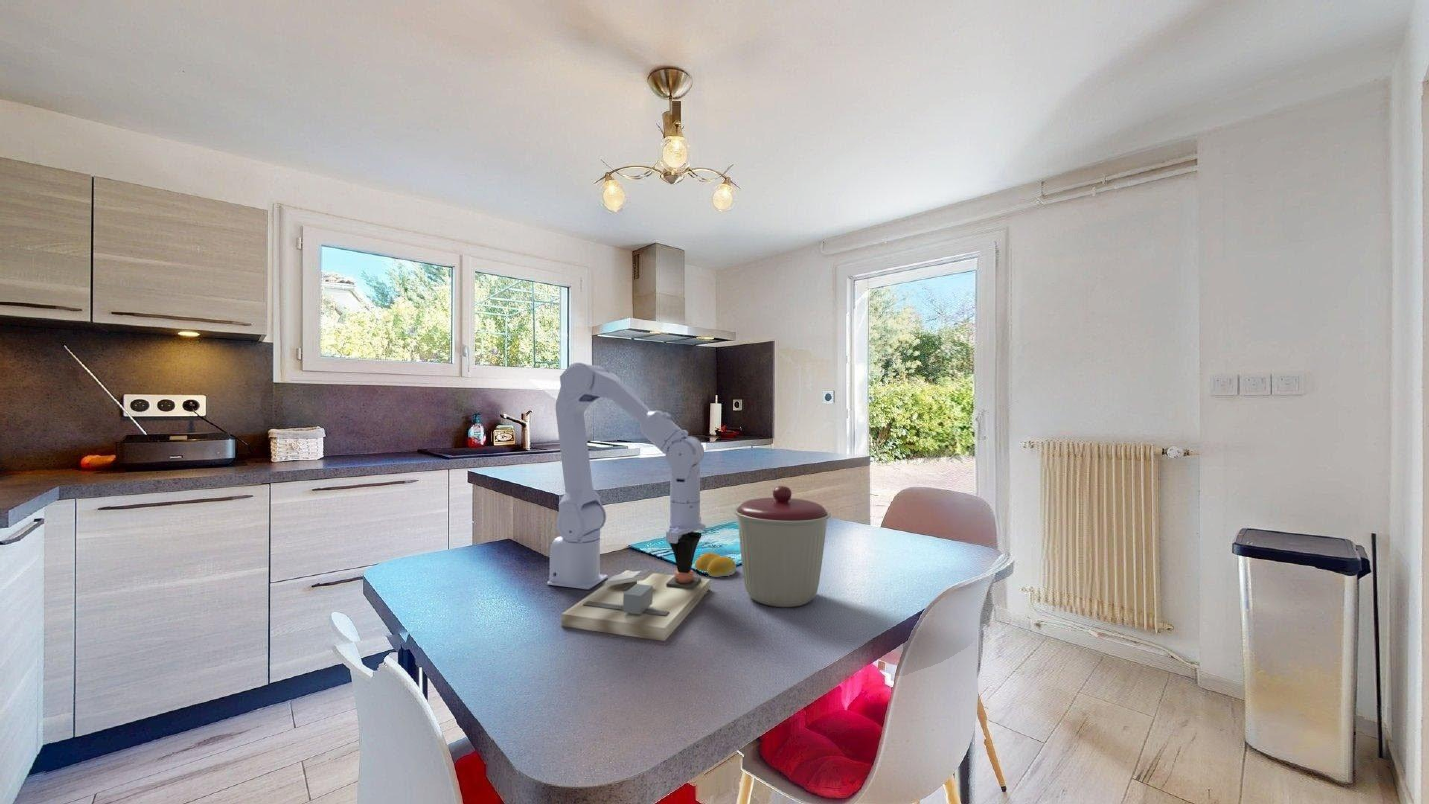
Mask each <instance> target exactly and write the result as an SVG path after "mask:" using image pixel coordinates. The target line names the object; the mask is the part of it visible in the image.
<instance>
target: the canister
mask: <svg viewBox="0 0 1429 804" xmlns="http://www.w3.org/2000/svg"><path fill="white" fill-rule="evenodd" d="M772 496H773V497H762V498H760V497H759V498H754V499H749V500H747V501H744V502H742V503H741V504H740V505H738V506H736V507H735V508H734V509H733V512H734V514H735V516H737V523H738V524H737V526H738V535H739V548H740V558H741V567H742V574H743V575H742V576H743V583H744V587H745V590H746V592H747V594H748V595H749V597H750V598H751V599H753V600H754V601H756V602H758V603H760V604H762V605H766V606H771V607H776V608H794V607H799V606H803V605H805V604H808V603H810V602H811V601H812V600H813V599H814V598H815V597H816V595H817V591H818V589H819V585H820V579H821V571H822V566H823V565H822V564H823V557H824V550H825V542H826V540H825V539H826V535H827V523H828V520H829V519H830V517H831V516H832V513H831V512H830V510H829V509H827V508H825V507H823V505H821V504H820V503H817V502H814V501H811V500H807V499H800V498H794V497H793V498H791V497H792V496H793V495H792V490H791V489H790V488H789V486H784V485H780V486H779V485H778V486H776V487H774V489H773V491H772Z"/></svg>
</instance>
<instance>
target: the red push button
mask: <svg viewBox="0 0 1429 804" xmlns="http://www.w3.org/2000/svg"><path fill="white" fill-rule="evenodd" d="M674 575H675V581H676V582H679V583H689V582H692V581H693V577H694V570H693V569H691V571H690V572H689V573H682V572H678V570H677V569H675V570H674Z"/></svg>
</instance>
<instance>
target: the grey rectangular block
mask: <svg viewBox="0 0 1429 804" xmlns="http://www.w3.org/2000/svg"><path fill="white" fill-rule="evenodd" d="M652 597H653V586H650V585H642V584H636V585H634V586H633V587H632V588H630V589H629V590H628V591H626V592H625V593H624V594H623V612H625V613H632V614H641V613H643V612H644V611H645V610H646V609H647V608H648V607H649V606H650V605H651V604H652Z"/></svg>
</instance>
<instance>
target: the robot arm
mask: <svg viewBox="0 0 1429 804" xmlns="http://www.w3.org/2000/svg"><path fill="white" fill-rule="evenodd" d="M559 381H560V388H559V392H558V395H557V398H556V401H555V415H556V425H557V432H558V434H557V435H558V440H559V449H560V451H559V452H560V458H561V466H562V474H563V483H564V491H565V492H564V494H563V496H562V498H561V499H560V501H559V503H558V516H557V519H556V530H557V532H558V534H559V536H557V537H556V538H554V539H553V541H552V543H551V546H550V551H549V576H548V578H549V580H548V581H547V583H546V584H547V585H549V586H550V585H551V586H557V587H563V588H564V587H566V588H572V589H580V590H590V589H592V588H594V587H595V586H597V585H598V584H599V583H601V582H603V581H604V580H607V579H608V574H604V573H603V574H601V573H600V572H601V571H600V568H601V567H600V566H601V564H600V563H601V561H600V560H601V559H600V558H601V549H600V548H601V529H602V528H603V527H604V526H605V523H606V522H607V512H606V509H605V508H604V506H603V505H602V502H601V496H600V494H599V493H598V492H597V490H595V489H594V487H593V486H594V485H593V479H592V472H591V463H590V462H591V461H590V455H589V454H590V453H589V446H588V437H587V436H588V435H587V430H586V429H587V428H586V422H585V421H586V420H585V412H586V411H587V409H588V408H589V407H590V406H591V404H592V403H593V402H595V401H596V400H598V399H600V398H606V399H609V400H611V401H613V403H615V404H616V405H617V406H618V407H620V409H622V410H623V411H625V412H626V413H627V414H628V415H629V416H631V417H632V419H634V420H635V421H637V422H638V423H639V432H640V433H641V434H642V435H643V436H644V437H645V438H646V439H647V440H648V441H650V442H651V443H652V444H653V446H655V447H656V448H657V449H658V450H659V451H661V453H662V454H665V460H666V462H667V464H668V465H669V467H670V481H669V482H670V484H669V485H670V487H669V489H670V490H669V497H670V498H669V523H668V530H667V531H666V532H665V535H666V536H665V542H666V543H667V544H669V546H670V548H671V550H672V552H673V555H674V560H675V565H676V570H678V572H682V573H689V572H690V571H691V570H692V568H693V567H692V566H693V563H694V558H695V554H696V551H697V547H698V545H699V542H700V540H701V538H702V533H701V532H698V531H699V530H700V531H701V530H702V531H703V530H705V529H706V524H705V523H702V516H701V513H700V512H701V503H700V502H701V462H702V460H704V456H705V448H704V446H703V443H702V442H701V441H700V440H699V438H698V437H696V436H689V432H688V431H687V429H682V428H680V427H679V425H677V424H676V423H675V422H674V421H673V420H672V419H671V418H672V415H670V413H668V412H667V411H666V412H663V411H661V410H653V411H652V410H651V409H650V408H649V407H648V406H647V405H646V403H644V402H643V401H642V400H641V399H640V398H639V397H638V396H637V395H636V394H635V393H634V392H633V391H632V390H631V389H630V387H628V386H627V385H626V384H625V383H624V382H623V381H622V380H621V379H620V378H619V376H618V375H616V374H615V373H613V372H611V371H610V370H609V368H607V367H606V366H603V365H593V364H592V365H591V364H586V363H583V362H574V363H571V364H570V365H568V367H567V368H566V369H564V371H563V372H562V373H561V375H560V376H559Z"/></svg>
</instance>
